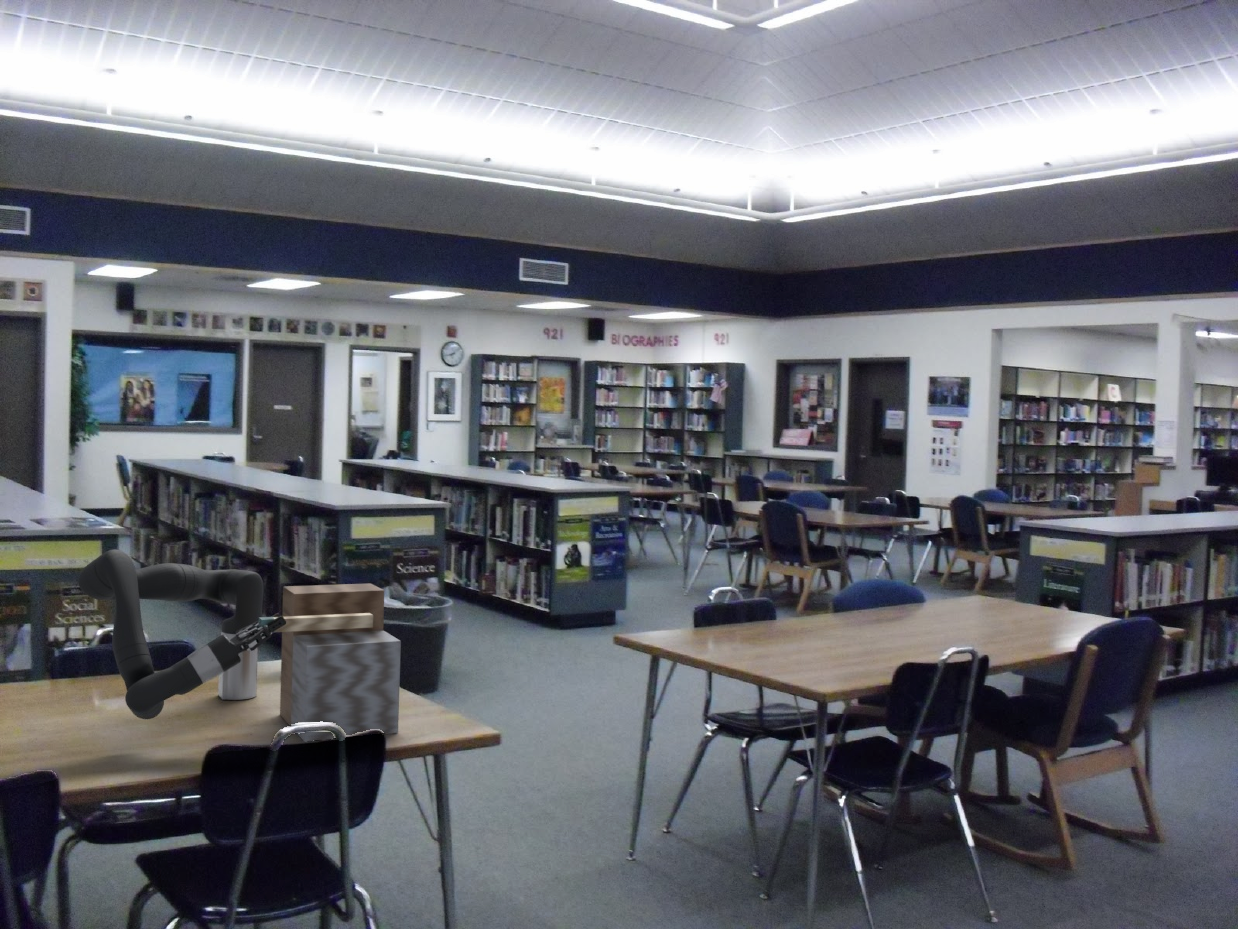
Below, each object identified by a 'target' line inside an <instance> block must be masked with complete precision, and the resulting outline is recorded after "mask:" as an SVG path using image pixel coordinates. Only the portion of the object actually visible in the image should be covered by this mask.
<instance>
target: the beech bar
mask: <svg viewBox="0 0 1238 929" xmlns="http://www.w3.org/2000/svg"><path fill="white" fill-rule="evenodd" d="M276 618H278V617H271V616H263V617H262V616H261V617H259V628H260V627H262V626H264V625H265V624H268V623H269V622H271V621H273V620H274V619H276ZM284 619H285V621H286V624H285V625H284V626H282V627H280V628H279V629H277V630H275V631H274V632H272V634H274V633H282V632H291V631H312V630H332V629H352V628H372V627H373V615H372V614H371V613H356V614H333V615H310V616H287V617H284Z"/></svg>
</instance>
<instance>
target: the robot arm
mask: <svg viewBox="0 0 1238 929" xmlns="http://www.w3.org/2000/svg"><path fill="white" fill-rule="evenodd" d="M135 566H136V565H135V563H134V561H133V560H132V559H131V556H129V554H127V553H126V552H125V551H123V550H120V549H109V550H108V551H106V552H104V553H102V554H101V555H99V556H98V557H96V558H95V559H94V560H92V561H91V562H89V563H88V564H87V565H86V566H84V568H82V570H81V571H80V573H79V575H78V576H77V577H78V578H77V584H78V587H79V589H80V590H81V592H83V593H84V594H85V595H86V596H88V597H89V598H92V599H94V600H98V601H99V600H100V601H115V613H114V614H115V615H114V622H113V628H112V635H111V637H112V638H111V640H112V644H111V645H112V650H113V655H114V659H115V662H116V666H117V670H118V672H119V674H120V676H121V678H122V679H123V682H124V684H125V688H126V693H125V698H124V699H125V704H126V706H127V707H128V709H129V710H130V711H131V712H132V714H133V715H134V716H135V717H137V718H139V719H142V720H151V719H155V717H157V716H159V715H160V714H161V712H162V711H163V708H164V707H165V701H166V700H168V699H170V698H172V697H174V696H177V695H181V696H183V695H186V694H188V693H189V692H192V691H194V690H195V689H197V688H199V687H200V686H201V685H203V684H205V683H206V682H209V681H212V680H213V679H216V678H217V677H218V684H217V685H218V687H217V690H218V693H217V694H218V696H219V697H220V699H221V700H232V701H237V700H238V701H239V700H248V699H252V698H255V697H257V695H258V693H257V692H258V658H259V657H258V656H259V655H258V653H259V652H258V651H259V647H260V646H261V645H262V644H264V643H265V642H267V641H268V640H269V639H270V638H272V634H273V633H272V632H274V631H275V630H277V629H279V628H280V627H282V626H284V625H285V624H286V621H285V619H284V617H283V615H281V614H280V613H279V612H277V613H275V614H273V615H272V616H270V617H278V618H276V619H274V620H273V621H271V622H269V623H268V624H265V625H264V626H262V627H260V628H259V617H262V616H263V602H264V581H263V578H262V577H261V575H260V573H258V572H256V571H252V570H243V569H236V568H235V569H234V568H232V569H230V568H229V569H216V570H215V569H214V570H213V569H212V570H211V569H210V570H209V569H203V568H200V567H197V566H195V565H190V564H183V563H176V562H175V563H174V562H171V563H170V562H168V563H167V562H166V563H165V562H164V563H158V564H155V565H154V564H153V565H149V566H145V567H141V568H138V569H136V567H135ZM200 599H201V600H202V599H203V600H205V599H206V600H210V601H216V602H220V603H224V604H227V605H231V606H232V605H234V606H235V608H234V614H233V615H232V616H230V617H229V618H228V617H227V618H225V619H224V620H222V622H221V630H220V632H221V633H220V634H221V635H219V636H217V637H215V638H214V639H213V640H211V641H209V642H207V643H206V644H204V645H202V646H200V647H198V648H197V649H196V650H194V651H193V652H192V653H190V654H189V655H187V657H184V658H183V659H181V660H180V661H178V662H176V663H174V664H173V665H171V666H169V667H168V668H165V669H162V670H158V671H157V672H155V669H154V666H153V662H152V661H153V660H152V656H151V654H150V650H149V646H148V643H147V639H146V635H145V631H144V626H143V621H142V612H141V611H142V610H141V600H151V601H153V600H154V601H165V602H166V601H167V602H178V603H179V602H182V603H183V602H184V603H185V602H193V601H195V600H200Z"/></svg>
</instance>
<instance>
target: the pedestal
mask: <svg viewBox="0 0 1238 929" xmlns="http://www.w3.org/2000/svg"><path fill="white" fill-rule="evenodd" d="M282 593H283V594H282V616H283V617H287V616H310V615H333V614H356V613H371V614H372V615H373V627H372V628H352V629H332V630H312V631H291V632H281V657H280V658H281V660H280V661H281V662H280V696H279V697H280V699H279V700H280V701H279V715H280V716H281V718H282V719H283V720H284V721H285V722H286V723H287V724H288V725H289V726H290V725H291V724H295V723H298V722H320V721H323V722H333V723H336V725H338V726H340V727H341V728H342V729H343V730H344V732H345V733H346V735H352V734H355V733H357V732H363V731H366V730H370V729H380V730H382V731H383V732H384V733H385V734H384V735H387V734H397V732H398V733H399V720H400V719H399V715H400V714H399V713H400V688H401V687H400V684H401V683H400V681H401V677H400V676H401V653H402V652H401V650H402V648H401V647H402V642H401V641H402V640H400V639H398V638H396V637H395V636H393V635H391V633H389V632H387V631H385V630H384V617H385V589H383V588H380V587H378V586H377V585H375V584H373V583H371V582H370V583H352V584H351V583H348V584H347V583H346V584H345V583H343V584H342V583H341V584H318V585H293V586H292V585H291V586H289V585H288V586H283V587H282ZM297 735H298V737H300V739H302V741H303V742H304V743H308V742H307V741H312V742H314V741H313V740H322V741H325V740H324V739H331V740H333V739H332V738H334V736H333V734H332V733H331V732H305V733H300V734H297Z"/></svg>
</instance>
